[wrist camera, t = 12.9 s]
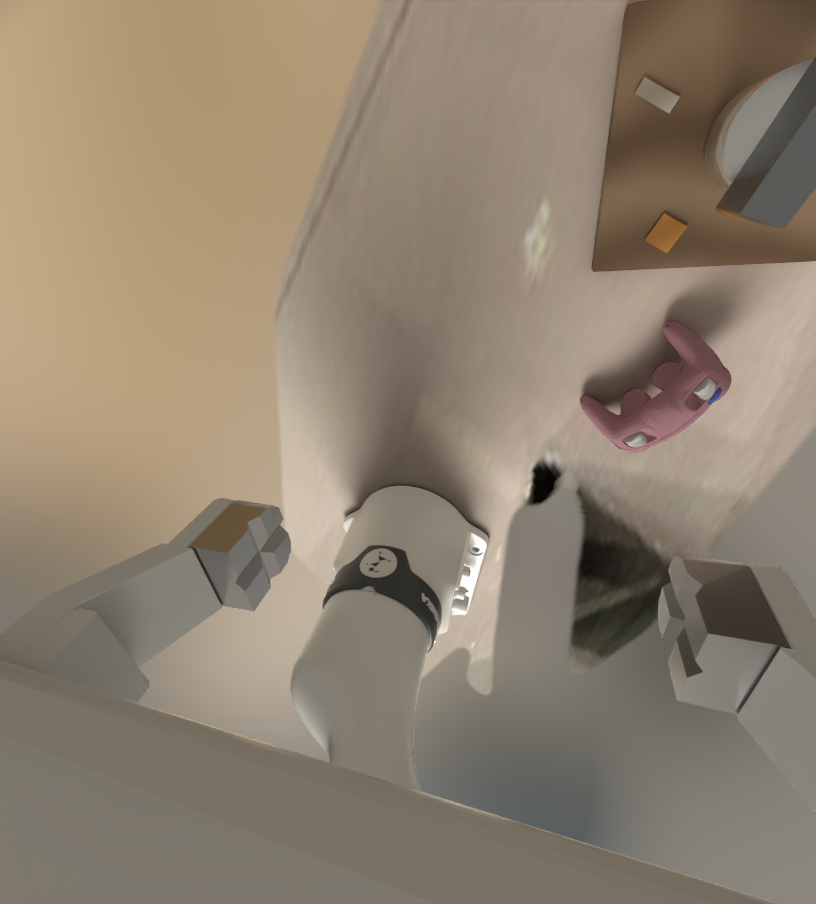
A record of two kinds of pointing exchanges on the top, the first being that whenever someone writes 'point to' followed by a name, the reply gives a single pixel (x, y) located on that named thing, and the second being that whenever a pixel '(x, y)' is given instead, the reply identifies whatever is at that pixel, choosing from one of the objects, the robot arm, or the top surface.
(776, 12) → the post stand
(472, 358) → the top surface
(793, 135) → the cap
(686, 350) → the video game controller
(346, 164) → the top surface
